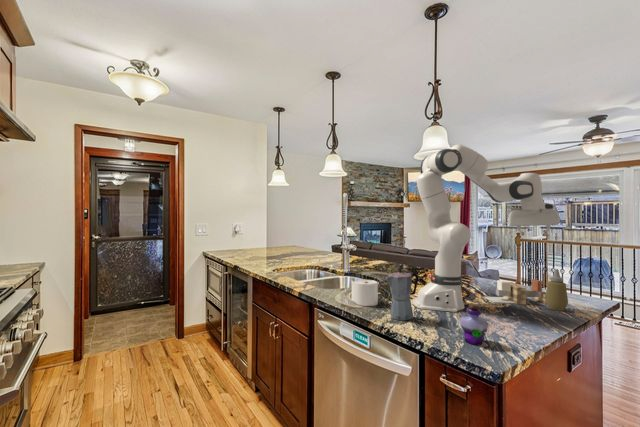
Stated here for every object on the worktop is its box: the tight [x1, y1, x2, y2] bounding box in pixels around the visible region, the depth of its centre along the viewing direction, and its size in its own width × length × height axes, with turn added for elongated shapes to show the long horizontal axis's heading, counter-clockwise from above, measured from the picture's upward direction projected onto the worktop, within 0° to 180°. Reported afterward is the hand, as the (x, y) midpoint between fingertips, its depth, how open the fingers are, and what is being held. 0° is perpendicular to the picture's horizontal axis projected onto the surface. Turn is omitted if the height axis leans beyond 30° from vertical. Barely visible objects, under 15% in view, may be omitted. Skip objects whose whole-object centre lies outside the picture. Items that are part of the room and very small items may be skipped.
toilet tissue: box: [350, 279, 379, 307], centre depth 141 cm, size 11×12×10 cm
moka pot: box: [385, 267, 420, 321], centre depth 122 cm, size 10×15×20 cm, turn 113°
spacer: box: [496, 279, 512, 291], centre depth 147 cm, size 4×4×4 cm
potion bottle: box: [459, 304, 490, 346], centre depth 98 cm, size 9×9×12 cm
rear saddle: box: [534, 291, 547, 305], centre depth 146 cm, size 4×8×4 cm, turn 175°
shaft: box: [495, 278, 543, 298], centre depth 147 cm, size 20×4×8 cm, turn 85°
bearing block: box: [503, 281, 527, 306], centre depth 147 cm, size 4×12×8 cm, turn 175°
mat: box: [484, 296, 517, 305], centre depth 147 cm, size 10×10×1 cm
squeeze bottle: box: [545, 268, 569, 312], centre depth 134 cm, size 8×8×18 cm
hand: (533, 235), depth 143 cm, fingers open, 8 cm apart
